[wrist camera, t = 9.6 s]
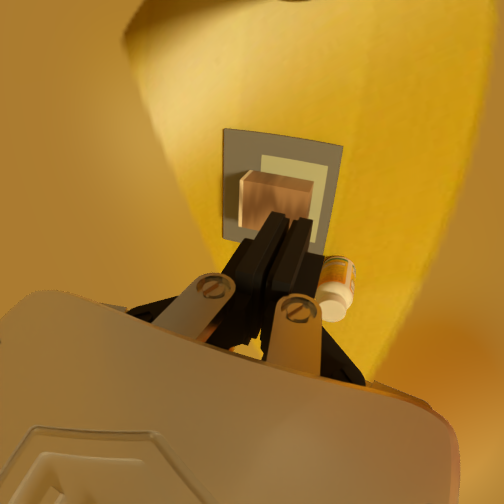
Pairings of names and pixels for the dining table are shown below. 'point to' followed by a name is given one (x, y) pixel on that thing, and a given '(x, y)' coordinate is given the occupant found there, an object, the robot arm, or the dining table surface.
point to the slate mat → (282, 163)
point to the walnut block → (272, 198)
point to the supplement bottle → (336, 288)
